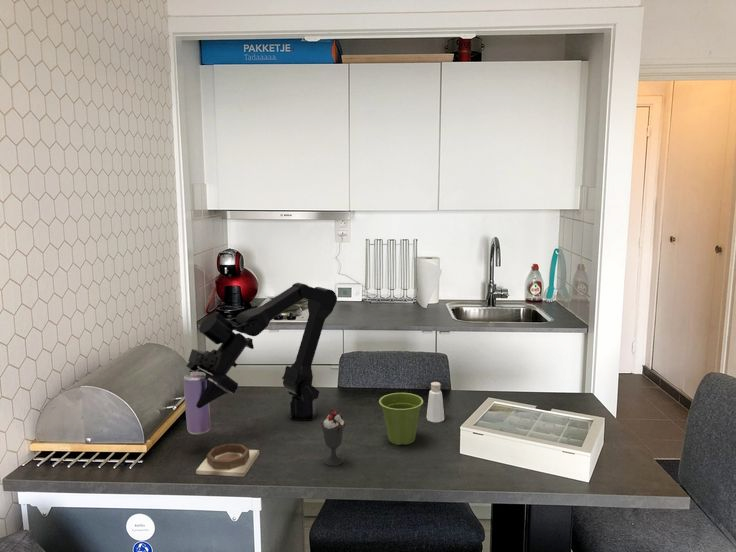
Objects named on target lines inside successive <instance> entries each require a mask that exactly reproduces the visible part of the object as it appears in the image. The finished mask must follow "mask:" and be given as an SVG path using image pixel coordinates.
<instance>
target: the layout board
mask: <svg viewBox="0 0 736 552" xmlns="http://www.w3.org/2000/svg"><path fill="white" fill-rule="evenodd" d="M259 455H260V450H259V449H249V448H248V447H246V446H245V445H244V444H241V443H224V444H221V445H218V446H214V447H212V448H211V450H210V451H209V452H208V453H207V454H206V458H205V459H204V460H203V461H202V463H201V464H200V465H199V466H198V467H197V468H196V470H195V474H196V475H203V476H204V475H206V476H224V477H243V478H244V477H245V476H246V474H248V472H249V470H250V469H251V467H252V465H253V464H254V462H255V461H256V459H257V458H258V456H259Z"/></svg>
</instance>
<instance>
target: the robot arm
mask: <svg viewBox="0 0 736 552" xmlns="http://www.w3.org/2000/svg"><path fill="white" fill-rule="evenodd" d="M303 299H305V300H307V310H308V317H307V320H306V324H305V328H304V332H303V334H302V338H301V341H300V344H299V348H298V351H297V355H296V358H295V361H294V363H292V365H290V366H289V365H285V366H286V367H285V370H284V374H283V376H282V377H281V380H282V384H283V387H284V389H285V390H286V391H287V392H288V395H290V396H292V397H291V401H290V402H289V405H290V409H289V411H290V416H291V417H290V420H294V421H313V419H314V418H315V416H316V415H317V410H316V400H317V399H318V398H319V394H320V391H319V390H318V389H317V388H316V387H315V386H313V385H312V384H313V377H314V375H313V370H312V365H313V362H314V358H315V356H316V351H317V347H318V344H319V341H320V338H321V335H322V331H323V327H324V324H325V321H326V319H327V318H328V317H329V316H330V315H331V314H332V313H333V311H334V309H335V306H336V305H337V300H338V296H337V294H336V292H335V291H334V290H333V289H329V288H324V287H320V286H317V287H313V286H309V285H308V284H307V283H306V284H305V283H301V282H295V283H293V284H292V286H291V287H289V288H287V289H286V290H284V291H282V292H281V293H280V294H278V295H277V296H275V297H273V298H272V299H270V300H269V301H267V302H265V303H264V304H262V305H260V306H257V307H253V308H250V309H246V310H245V311H242V312H240V313H238V314H237V315H236V317H233V318H230V319H228V320H227V319H226V318H225V317H224V316H223V314H221V313H220V312H218V311H215V312H213V314H212V315H209V316H208V317H207V318H205V319H203V320H202V321H201V323H200V326H199V328H198V329H199V330H198V331H199V333H200V334H201V335H203V336H204V337H206V338H207V339H209V341H211V342H212V343H213V344H215V345H219V347H218V348H217V349H212V350H211V351H208V350H205V351H204V350H203V351H202V350H197V349H193V348H192V349H191V352H190V355H189V358H188V360H187V361H188V362H187V364H186V366H185V367H186V368H187V369H189V373H192V372H204V373H206V376H207V388H206V389H205V391H204V393H203V395H202V396H201V398H200V400H199V401H198V403H197V405H196V407H198V408H201V407H203V406H205V405H206V404H208V403H209V404H210V403H211V402H212V401H215V400H216V399H218V398H220V397H221V396H223V395H228V393H230V394H232V395H235V394H236V392H237V391H238V390H239V384H238V382H237V381H236V380H234V379H233V378H231V377H229V376H228V375H227V374H228V373H229V372H230V370H231V369H232V367H234V368H236V367H237V366H238V364H237V363H236V362H237V360H238V359H239V357H240V356H241V354H242V353H243V352H244V350H245V348H248V349H250V350H254V349H255V348H254V342H253V341H254V340H253V338H250V337H257V336H258V335H260V334H261V333H262V332H263V331H264V330H265V329H266V328H267V327H268V326H269V325H270V323H271V321H272V320H273V319H274V318H276V317H277V316H279V315H280V314H282V313H283V312H284V311H287V310H288V309H289V308H291V307H292V306H294V305H295V304H297V303H298V302H301V300H303ZM234 331H235V332H238V333H235V332H234ZM243 334H244V335H246V336H250V337H245V336H244V335H243ZM211 380H212V381H211ZM227 391H228V392H227Z"/></svg>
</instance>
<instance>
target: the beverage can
mask: <svg viewBox="0 0 736 552" xmlns="http://www.w3.org/2000/svg"><path fill="white" fill-rule="evenodd" d="M206 388H207V376H206V373H204V372H192V373H190V372H189V373H186V374H185V375H184V376H183V394H184V406H185V408H184V409H185V418H186V419H185V420H186V430H187V431H188V433H189V434H192V435H201V434H202V435H203V434H205V433H207V432H209V431H210V430H211V426H212V425H211V409H210V403H208V404H206V405H205V406H203V407H201V408H198V407H196V405H197V403H198V401H199V400H200V398H201V396H202V395H203V393H204V391H205V389H206Z"/></svg>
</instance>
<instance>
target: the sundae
mask: <svg viewBox="0 0 736 552" xmlns="http://www.w3.org/2000/svg"><path fill="white" fill-rule="evenodd" d="M343 417H344V416H343V414H342V413H340V411H337V410H336V411H335V410H333V407H331V408H330V410H329V413H328V415H327V416H326V418H325V419H323V420H322V421H321V422H320V423H319V426H320V427H321V428H322V432H323V437H324V438H323V439H324V443H325V445H326V446H327V447H328V448H329V449H330V450H331V451H330V456H328V457H325V458H324V459H323V463H324V464H325V465H327V466H333V467H334V466H340V465H342V463H344V458H342V457H341V456H338V455H337V448H339V447H340V446H341V444H342V439H343V433H344V428H346V426H347V421H346V420H345V419H343Z"/></svg>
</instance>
